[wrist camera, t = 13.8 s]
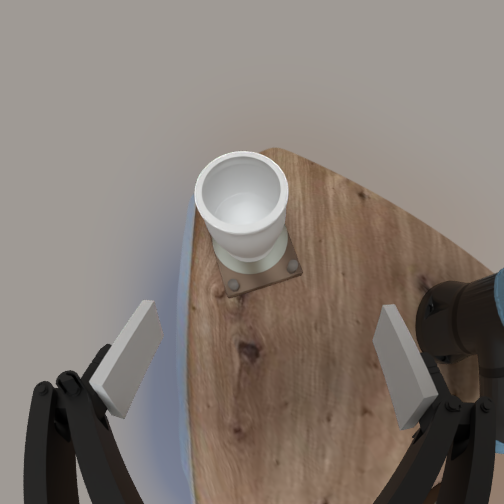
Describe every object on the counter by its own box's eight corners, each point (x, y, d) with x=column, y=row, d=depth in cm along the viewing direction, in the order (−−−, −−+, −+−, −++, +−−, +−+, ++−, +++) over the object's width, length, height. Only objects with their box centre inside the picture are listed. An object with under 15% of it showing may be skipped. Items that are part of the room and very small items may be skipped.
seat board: (273, 200, 47) (273, 186, 43) (301, 275, 43) (305, 267, 38) (207, 220, 47) (201, 208, 42) (229, 298, 43) (224, 293, 38)
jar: (207, 221, 44) (182, 170, 30) (265, 198, 45) (264, 139, 31) (231, 280, 41) (212, 249, 27) (293, 253, 42) (306, 210, 28)
